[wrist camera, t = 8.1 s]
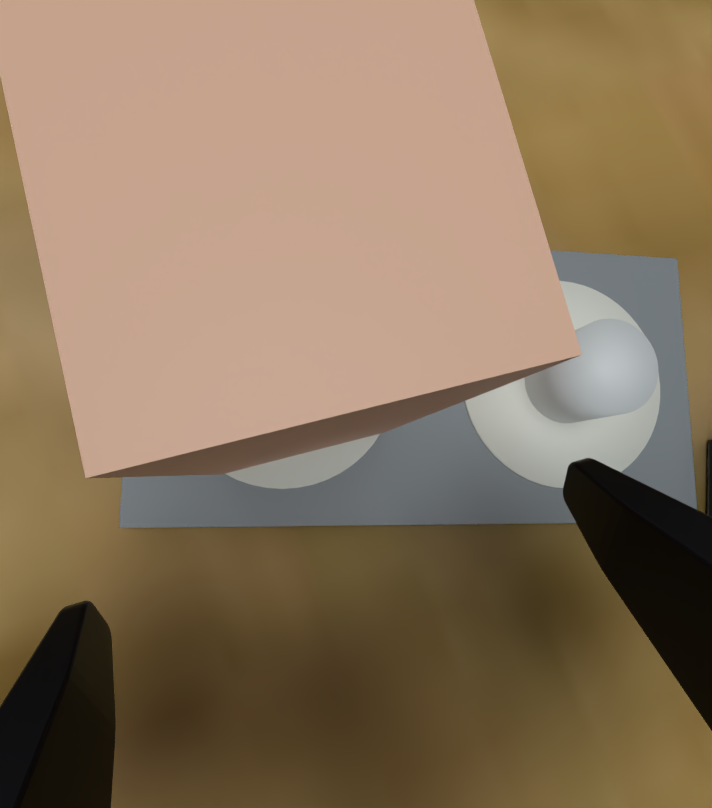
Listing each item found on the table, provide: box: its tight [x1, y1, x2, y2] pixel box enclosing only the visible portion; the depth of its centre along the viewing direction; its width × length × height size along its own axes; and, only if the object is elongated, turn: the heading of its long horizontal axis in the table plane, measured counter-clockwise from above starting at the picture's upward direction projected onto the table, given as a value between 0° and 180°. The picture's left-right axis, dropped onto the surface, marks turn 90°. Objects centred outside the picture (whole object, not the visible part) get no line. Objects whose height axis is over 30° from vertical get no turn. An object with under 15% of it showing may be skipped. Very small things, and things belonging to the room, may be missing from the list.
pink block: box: [0, 0, 582, 478], centre depth 12 cm, size 6×6×12 cm
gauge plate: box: [119, 251, 697, 528], centre depth 17 cm, size 10×20×4 cm, turn 89°
